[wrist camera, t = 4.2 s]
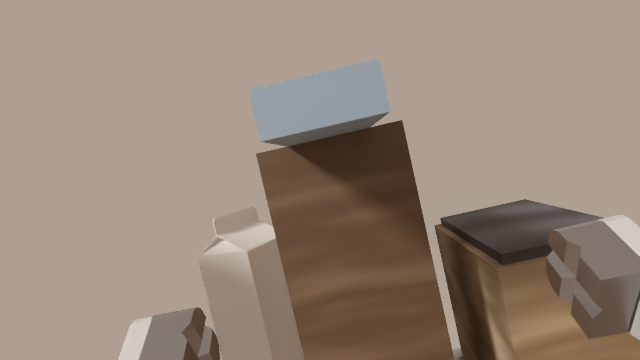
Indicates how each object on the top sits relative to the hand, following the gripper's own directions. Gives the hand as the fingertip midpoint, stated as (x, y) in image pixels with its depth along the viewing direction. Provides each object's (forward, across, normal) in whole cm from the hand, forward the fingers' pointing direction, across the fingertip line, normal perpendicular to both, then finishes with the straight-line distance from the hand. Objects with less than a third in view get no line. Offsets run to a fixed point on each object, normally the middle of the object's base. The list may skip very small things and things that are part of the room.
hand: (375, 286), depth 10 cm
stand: (+7, 0, -29) cm, 30 cm away
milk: (+14, -10, -34) cm, 38 cm away
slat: (+16, 0, -4) cm, 16 cm away
